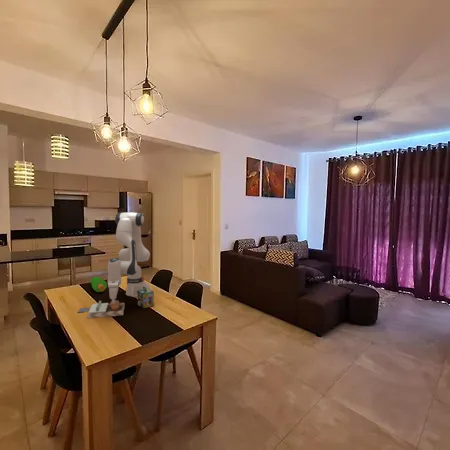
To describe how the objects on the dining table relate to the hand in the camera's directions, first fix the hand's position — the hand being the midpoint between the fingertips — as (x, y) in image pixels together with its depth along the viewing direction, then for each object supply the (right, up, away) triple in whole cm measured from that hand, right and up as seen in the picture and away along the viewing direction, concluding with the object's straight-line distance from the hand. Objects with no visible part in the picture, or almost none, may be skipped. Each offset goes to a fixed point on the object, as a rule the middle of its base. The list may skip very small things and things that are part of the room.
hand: (114, 300), depth 187 cm
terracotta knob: (0, -8, +1) cm, 8 cm away
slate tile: (-23, -8, +3) cm, 24 cm away
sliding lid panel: (-10, -5, -2) cm, 11 cm away
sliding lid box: (-5, -9, 0) cm, 10 cm away
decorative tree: (-34, -4, +48) cm, 59 cm away
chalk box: (+18, -8, +15) cm, 25 cm away
